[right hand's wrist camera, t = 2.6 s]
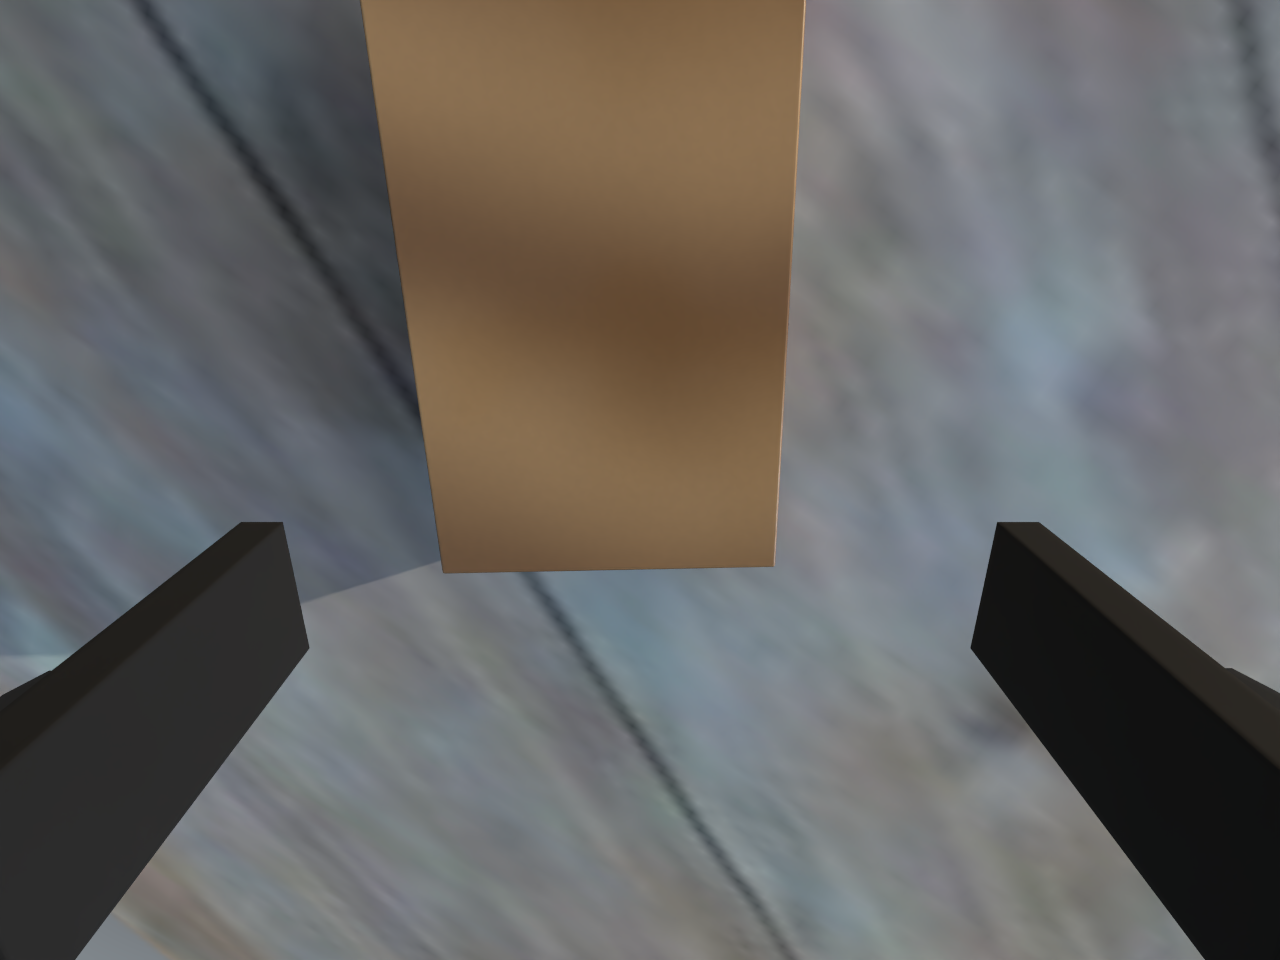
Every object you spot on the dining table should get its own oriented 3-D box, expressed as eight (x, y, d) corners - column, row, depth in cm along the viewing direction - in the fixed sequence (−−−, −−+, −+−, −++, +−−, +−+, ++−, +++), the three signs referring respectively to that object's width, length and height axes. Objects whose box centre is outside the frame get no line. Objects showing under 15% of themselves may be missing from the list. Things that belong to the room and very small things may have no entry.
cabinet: (443, -23, 23) (336, -151, 15) (753, -31, 23) (816, -165, 15) (496, 475, 29) (442, 574, 21) (738, 470, 29) (775, 567, 21)
